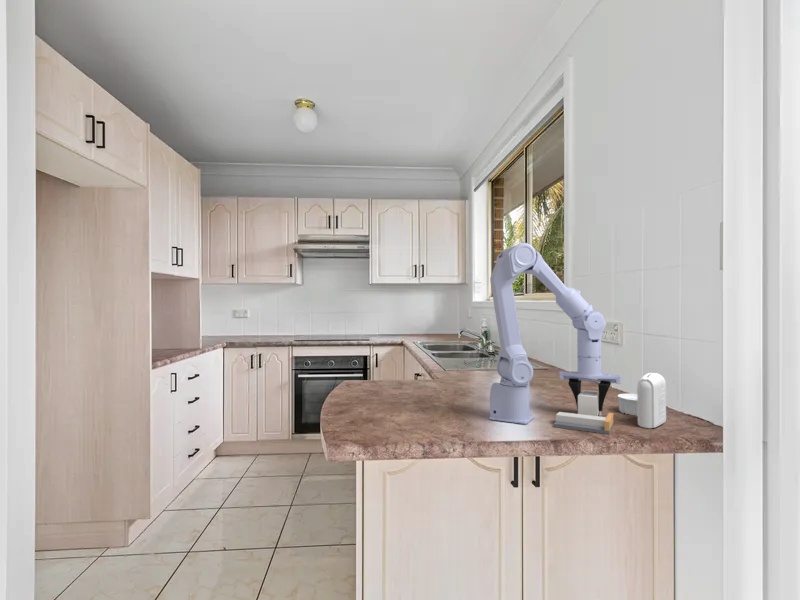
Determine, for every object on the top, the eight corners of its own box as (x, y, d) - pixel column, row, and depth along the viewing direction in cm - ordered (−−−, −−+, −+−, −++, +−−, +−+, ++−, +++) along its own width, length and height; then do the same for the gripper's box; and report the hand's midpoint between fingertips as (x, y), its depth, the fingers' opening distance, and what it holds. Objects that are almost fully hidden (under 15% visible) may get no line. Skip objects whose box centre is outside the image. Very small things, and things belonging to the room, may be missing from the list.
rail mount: (553, 427, 105) (553, 415, 106) (561, 418, 113) (561, 407, 113) (609, 434, 99) (609, 421, 99) (613, 424, 107) (613, 413, 107)
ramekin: (642, 408, 124) (642, 393, 124) (662, 417, 115) (662, 400, 115) (611, 409, 124) (611, 393, 124) (628, 417, 115) (628, 400, 115)
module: (577, 419, 113) (577, 394, 113) (582, 412, 120) (582, 389, 120) (597, 421, 110) (597, 396, 110) (601, 414, 117) (601, 391, 117)
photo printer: (649, 418, 113) (648, 369, 113) (668, 421, 110) (668, 371, 110) (634, 426, 106) (634, 374, 106) (654, 430, 103) (654, 376, 103)
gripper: (621, 356, 115) (622, 409, 115) (562, 353, 122) (563, 403, 122) (619, 359, 109) (620, 415, 109) (557, 356, 116) (558, 408, 116)
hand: (589, 409), depth 115 cm, fingers closed on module, 4 cm apart
